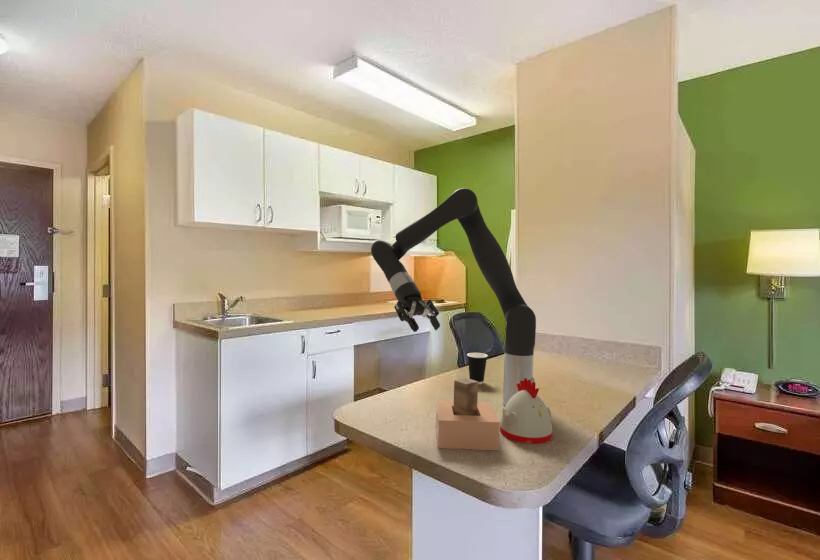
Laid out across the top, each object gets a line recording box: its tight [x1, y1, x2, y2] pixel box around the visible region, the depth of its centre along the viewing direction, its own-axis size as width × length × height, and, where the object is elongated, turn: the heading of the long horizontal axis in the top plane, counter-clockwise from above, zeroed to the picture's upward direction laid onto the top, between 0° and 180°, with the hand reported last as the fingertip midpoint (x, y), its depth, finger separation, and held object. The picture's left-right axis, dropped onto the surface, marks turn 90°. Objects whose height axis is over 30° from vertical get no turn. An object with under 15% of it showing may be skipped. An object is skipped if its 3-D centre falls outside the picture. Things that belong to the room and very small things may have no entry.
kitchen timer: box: [499, 378, 553, 445], centre depth 114 cm, size 14×14×15 cm
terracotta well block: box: [435, 400, 500, 451], centre depth 111 cm, size 15×15×7 cm
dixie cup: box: [466, 352, 489, 386], centre depth 162 cm, size 8×8×11 cm
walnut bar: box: [453, 377, 479, 416], centre depth 110 cm, size 4×4×14 cm
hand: (427, 329), depth 126 cm, fingers open, 8 cm apart
